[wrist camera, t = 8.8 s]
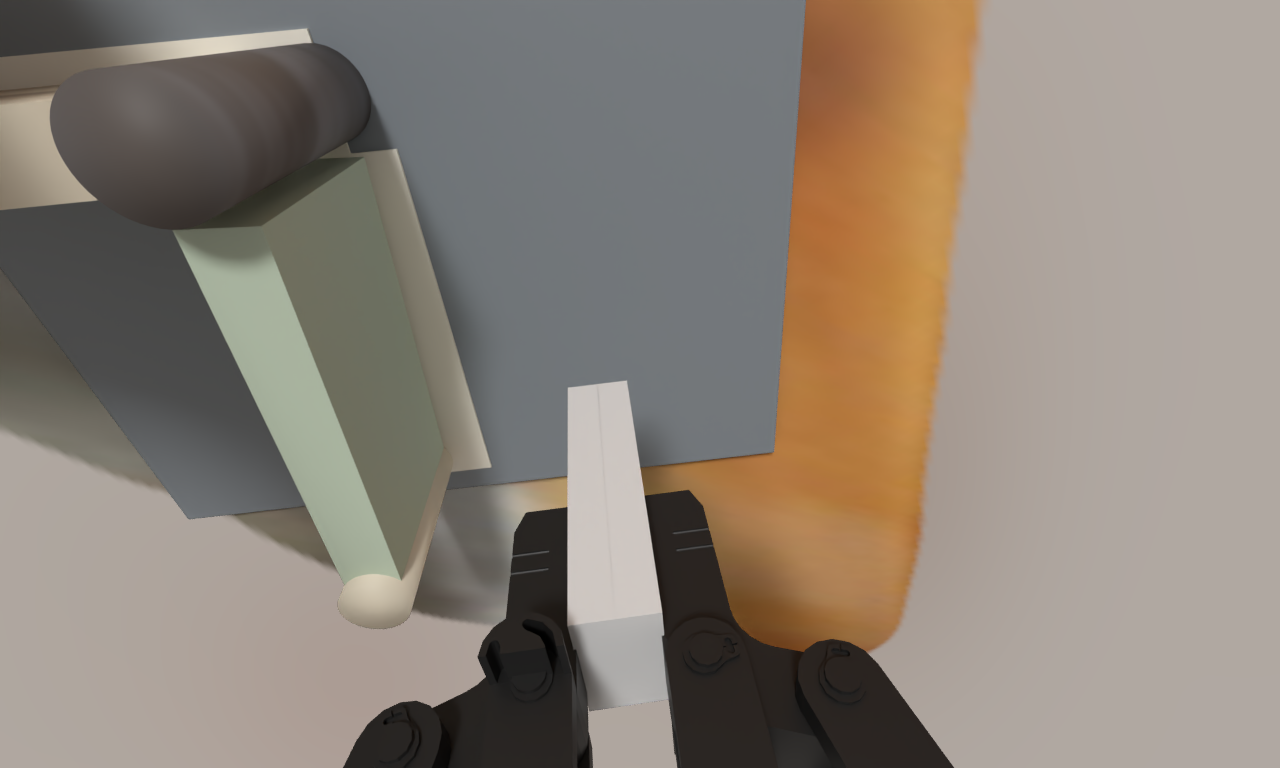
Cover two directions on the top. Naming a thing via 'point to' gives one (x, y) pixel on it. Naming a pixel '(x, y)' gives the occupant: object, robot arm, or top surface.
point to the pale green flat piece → (333, 372)
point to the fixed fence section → (178, 131)
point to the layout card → (464, 225)
